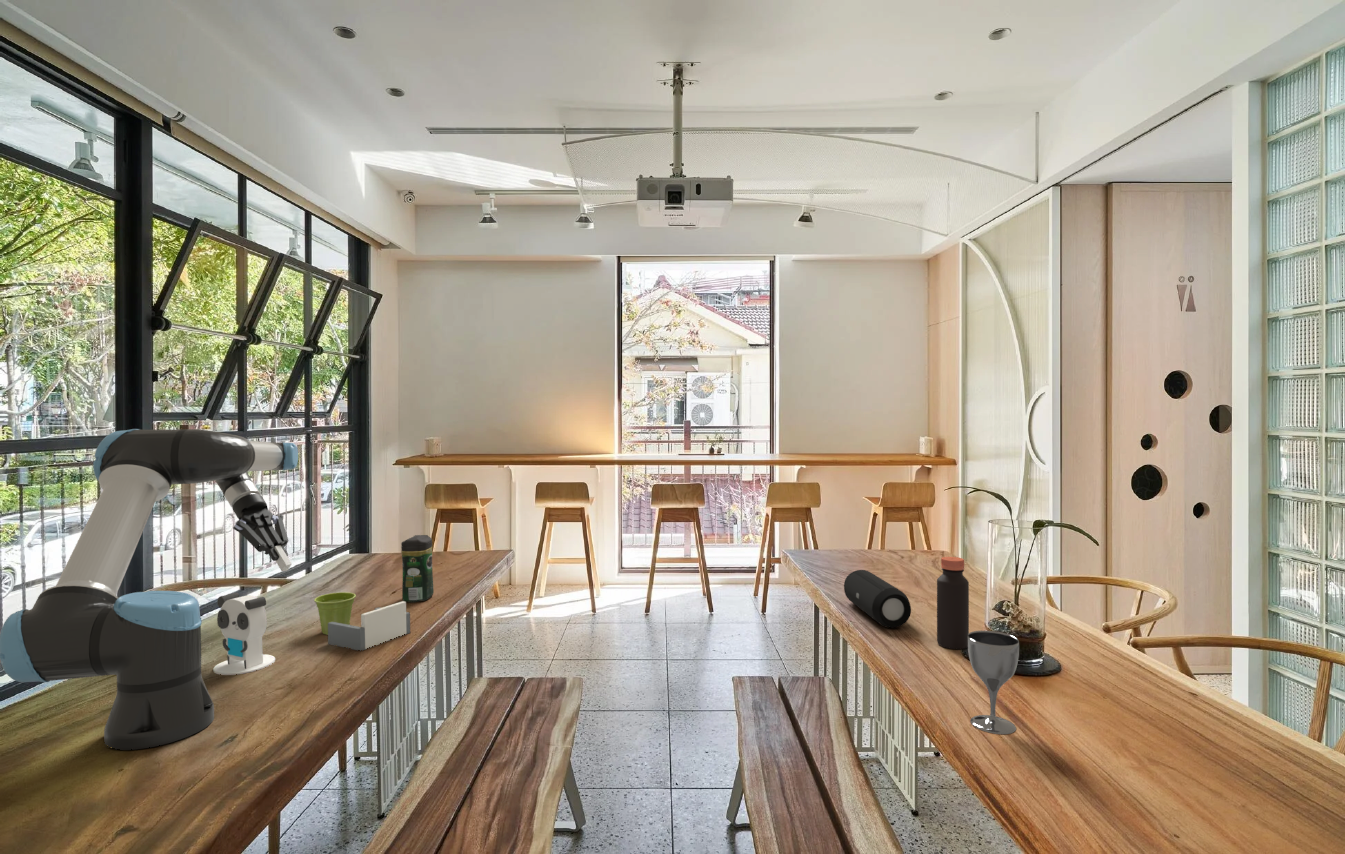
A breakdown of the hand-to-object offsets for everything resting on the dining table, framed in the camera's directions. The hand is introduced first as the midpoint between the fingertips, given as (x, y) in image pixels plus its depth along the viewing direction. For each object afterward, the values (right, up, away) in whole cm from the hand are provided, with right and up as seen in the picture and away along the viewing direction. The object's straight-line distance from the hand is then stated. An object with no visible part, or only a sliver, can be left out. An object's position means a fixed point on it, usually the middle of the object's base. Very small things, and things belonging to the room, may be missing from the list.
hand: (286, 567), depth 178 cm
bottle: (+166, -13, -22) cm, 168 cm away
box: (+28, -14, -14) cm, 34 cm away
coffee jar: (+26, -14, +22) cm, 37 cm away
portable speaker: (+156, -13, +2) cm, 156 cm away
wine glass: (+157, -14, -62) cm, 169 cm away
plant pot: (+17, -14, -8) cm, 24 cm away
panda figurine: (+8, -15, -31) cm, 35 cm away
